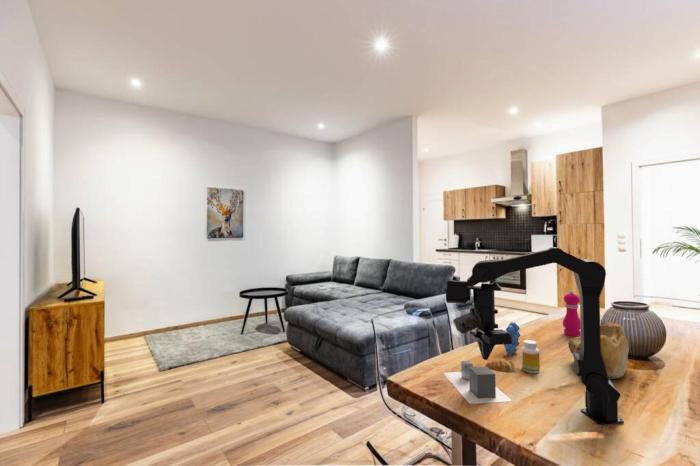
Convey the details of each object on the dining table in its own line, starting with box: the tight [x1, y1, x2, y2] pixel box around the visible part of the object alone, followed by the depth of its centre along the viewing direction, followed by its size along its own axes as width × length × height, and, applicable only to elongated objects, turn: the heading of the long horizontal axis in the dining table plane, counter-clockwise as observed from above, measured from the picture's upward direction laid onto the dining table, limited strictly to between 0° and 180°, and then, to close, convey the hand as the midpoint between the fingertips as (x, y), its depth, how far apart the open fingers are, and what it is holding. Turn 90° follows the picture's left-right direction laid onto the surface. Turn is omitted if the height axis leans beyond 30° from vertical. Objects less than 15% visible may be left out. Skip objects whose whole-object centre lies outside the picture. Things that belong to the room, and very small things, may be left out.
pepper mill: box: [562, 289, 581, 337], centre depth 151 cm, size 7×7×20 cm
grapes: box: [503, 321, 521, 356], centre depth 130 cm, size 12×7×12 cm, turn 136°
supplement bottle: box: [520, 339, 541, 374], centre depth 114 cm, size 5×5×10 cm
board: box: [443, 371, 513, 405], centre depth 101 cm, size 20×12×1 cm, turn 5°
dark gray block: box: [469, 366, 497, 399], centre depth 96 cm, size 5×5×7 cm
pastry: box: [485, 359, 517, 373], centre depth 114 cm, size 9×7×4 cm
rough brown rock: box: [567, 321, 630, 380], centre depth 115 cm, size 23×17×15 cm
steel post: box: [460, 360, 474, 380], centre depth 106 cm, size 3×3×5 cm
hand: (485, 359), depth 96 cm, fingers closed
